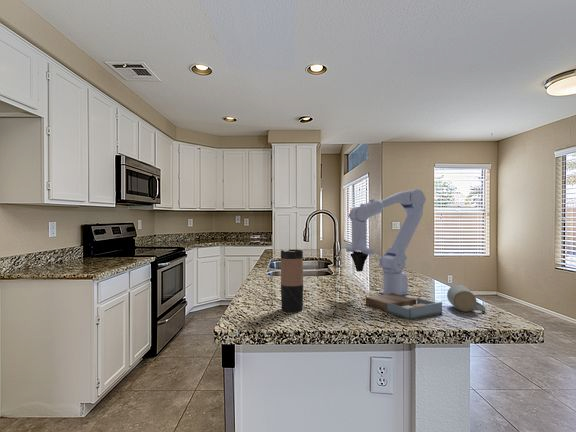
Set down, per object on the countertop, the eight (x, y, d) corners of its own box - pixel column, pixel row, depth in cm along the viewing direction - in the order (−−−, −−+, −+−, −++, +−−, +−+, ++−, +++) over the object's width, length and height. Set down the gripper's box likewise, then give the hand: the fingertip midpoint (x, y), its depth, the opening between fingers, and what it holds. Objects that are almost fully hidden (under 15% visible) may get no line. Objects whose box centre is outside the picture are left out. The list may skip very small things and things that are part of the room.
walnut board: (392, 299, 123) (392, 293, 123) (416, 306, 113) (416, 299, 113) (365, 304, 117) (365, 297, 117) (388, 311, 107) (388, 304, 107)
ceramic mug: (453, 312, 106) (453, 288, 106) (446, 305, 114) (446, 283, 114) (489, 314, 104) (489, 290, 104) (480, 307, 112) (480, 285, 112)
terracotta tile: (433, 306, 105) (433, 311, 105) (421, 303, 109) (421, 308, 109) (423, 308, 103) (423, 313, 103) (412, 305, 107) (412, 309, 107)
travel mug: (301, 313, 106) (301, 251, 106) (278, 312, 108) (278, 251, 108) (305, 307, 114) (304, 249, 114) (283, 306, 115) (283, 249, 115)
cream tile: (419, 308, 103) (419, 313, 103) (408, 305, 107) (408, 310, 107) (409, 310, 101) (409, 315, 101) (398, 306, 105) (398, 311, 105)
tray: (418, 306, 113) (418, 296, 113) (442, 313, 105) (441, 302, 105) (387, 312, 107) (387, 301, 107) (410, 319, 98) (410, 308, 98)
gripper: (339, 236, 134) (340, 269, 134) (363, 238, 121) (363, 274, 121) (353, 236, 137) (353, 268, 137) (377, 237, 124) (378, 273, 124)
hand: (359, 271), depth 129 cm, fingers closed
